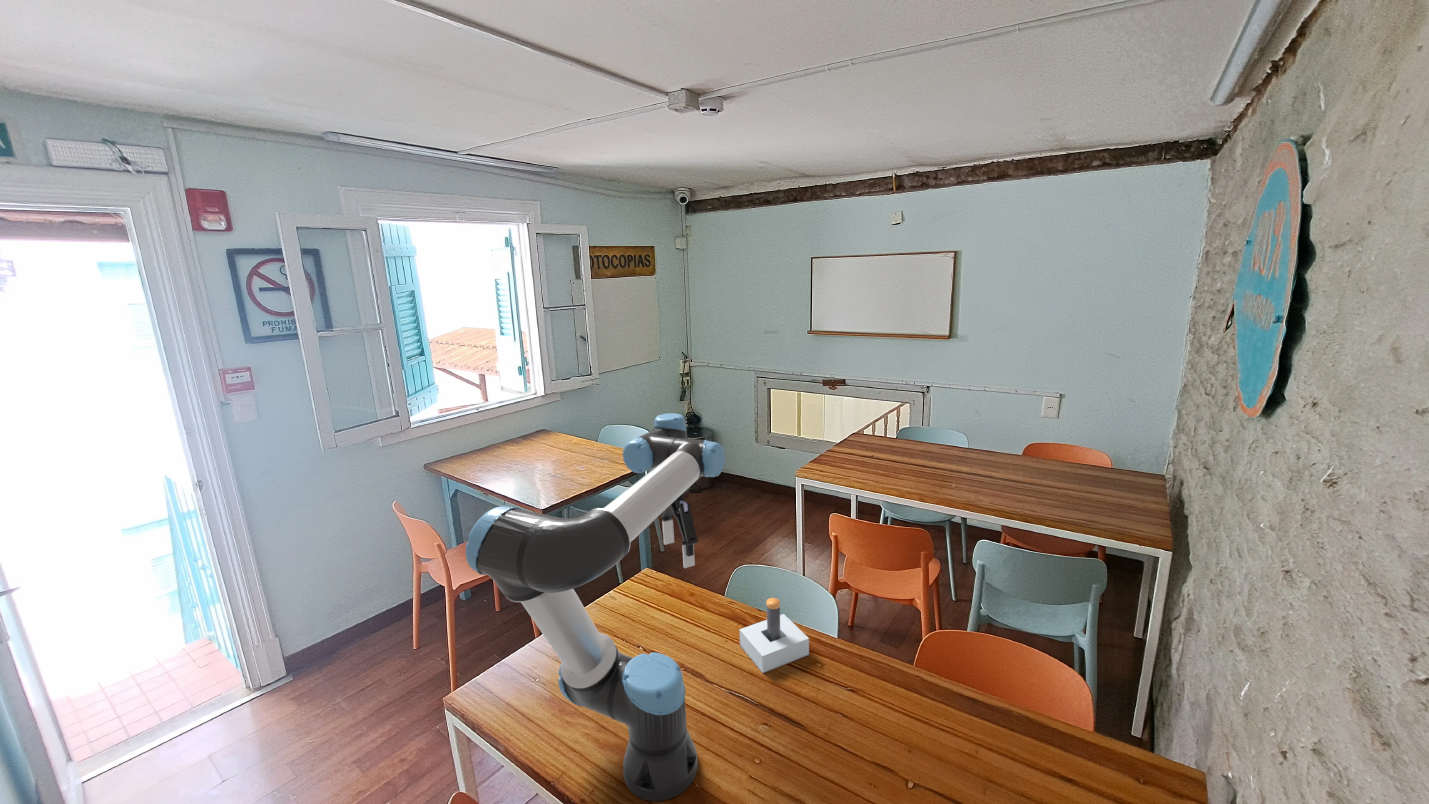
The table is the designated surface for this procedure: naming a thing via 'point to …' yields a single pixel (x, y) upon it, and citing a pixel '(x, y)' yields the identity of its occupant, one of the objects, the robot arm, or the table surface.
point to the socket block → (774, 644)
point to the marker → (773, 619)
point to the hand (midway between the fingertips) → (678, 554)
